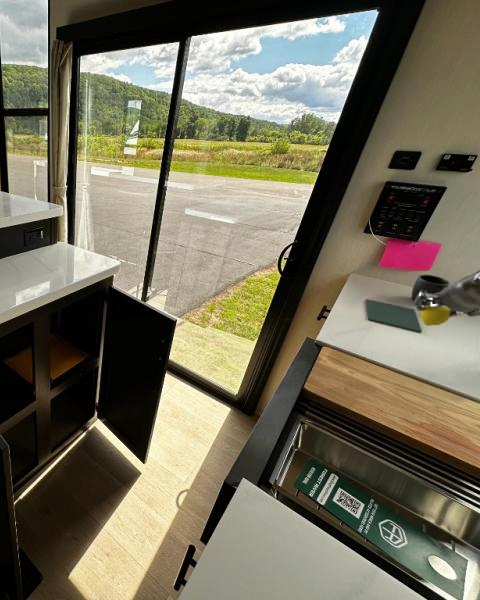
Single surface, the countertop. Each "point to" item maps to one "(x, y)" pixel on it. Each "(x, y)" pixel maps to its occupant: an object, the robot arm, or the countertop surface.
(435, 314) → the fruit
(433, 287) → the mug
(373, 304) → the mat
